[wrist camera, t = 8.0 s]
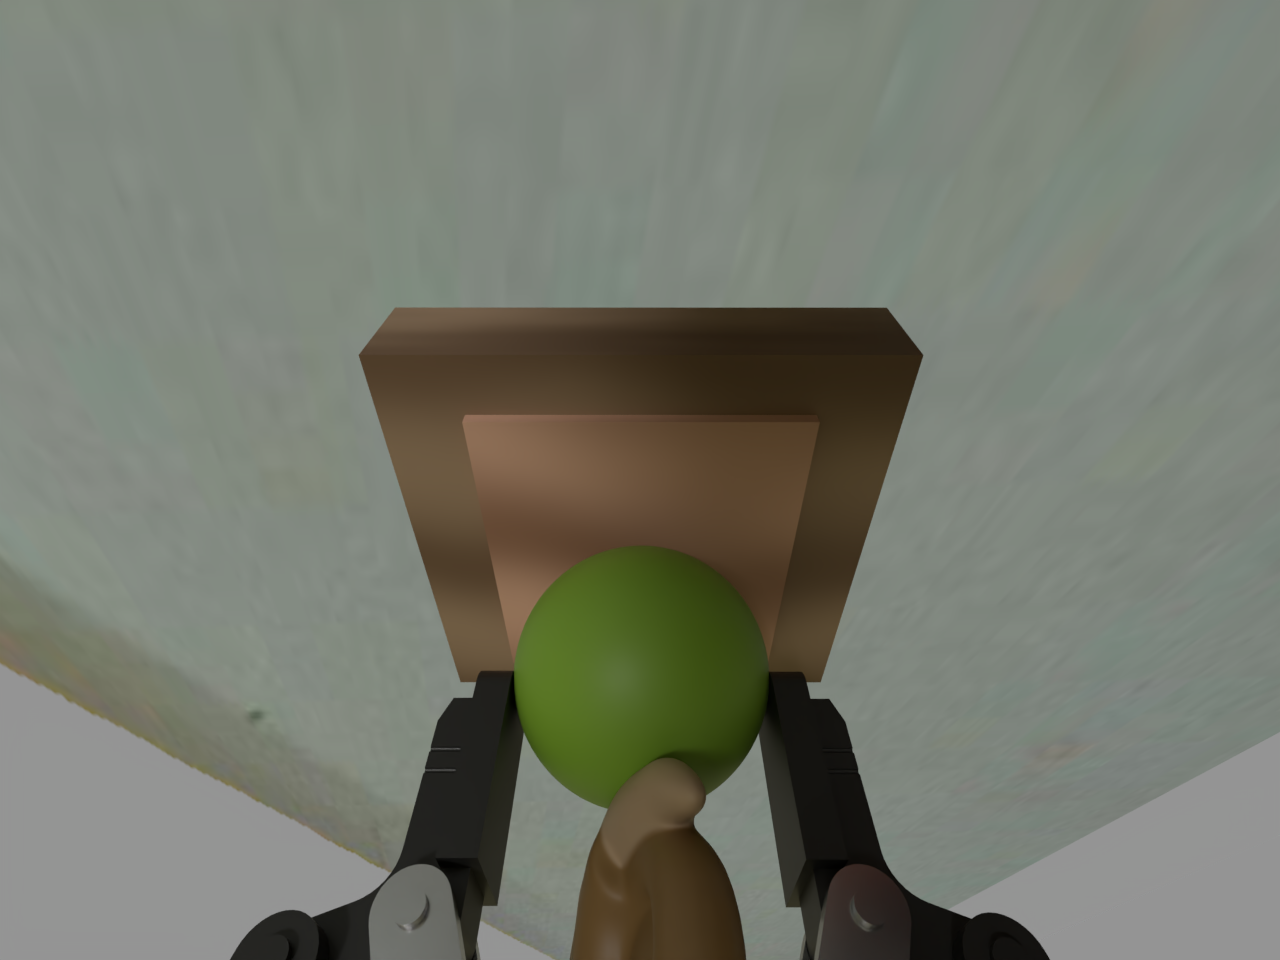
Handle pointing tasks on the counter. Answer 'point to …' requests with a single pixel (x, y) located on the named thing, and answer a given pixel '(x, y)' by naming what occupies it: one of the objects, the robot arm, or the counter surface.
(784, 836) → the robot arm
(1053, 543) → the counter surface
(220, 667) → the counter surface
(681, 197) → the counter surface
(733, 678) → the snail figurine
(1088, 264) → the counter surface
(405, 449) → the display plinth
